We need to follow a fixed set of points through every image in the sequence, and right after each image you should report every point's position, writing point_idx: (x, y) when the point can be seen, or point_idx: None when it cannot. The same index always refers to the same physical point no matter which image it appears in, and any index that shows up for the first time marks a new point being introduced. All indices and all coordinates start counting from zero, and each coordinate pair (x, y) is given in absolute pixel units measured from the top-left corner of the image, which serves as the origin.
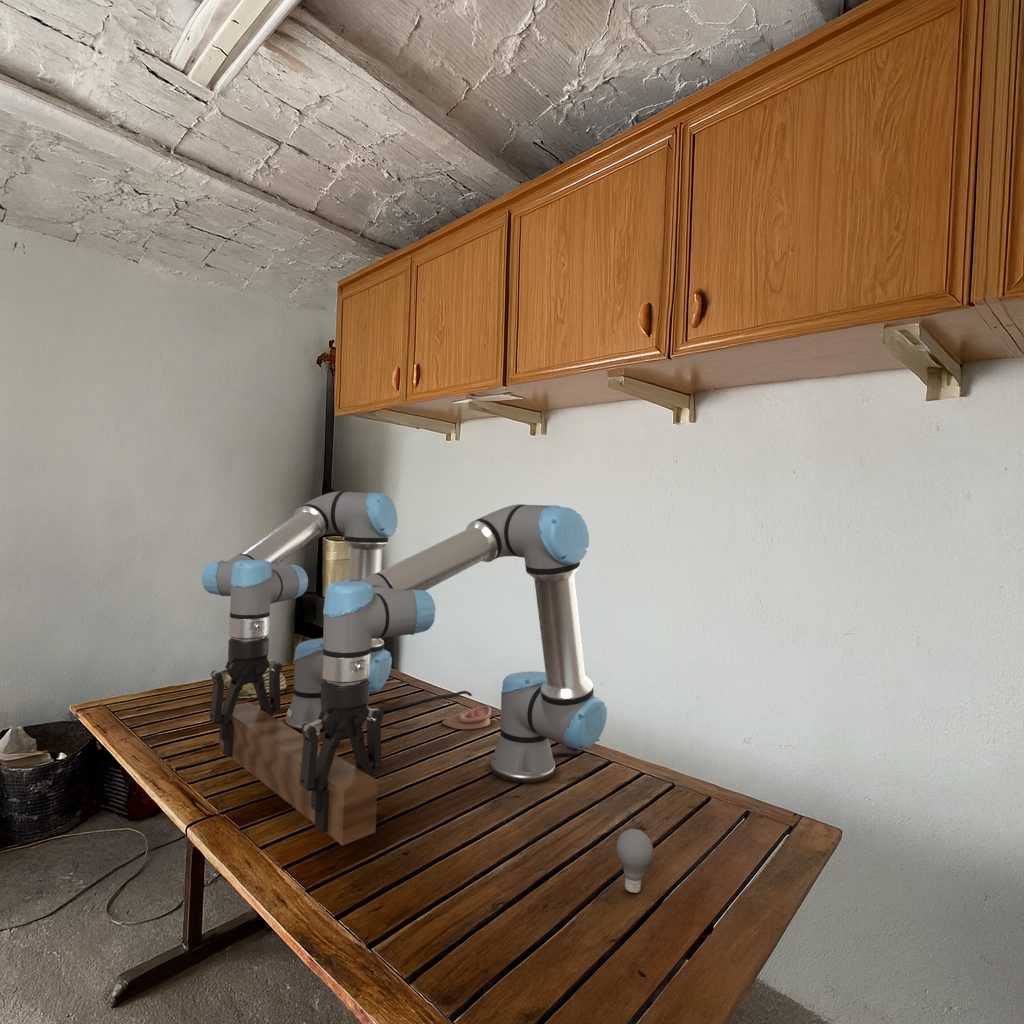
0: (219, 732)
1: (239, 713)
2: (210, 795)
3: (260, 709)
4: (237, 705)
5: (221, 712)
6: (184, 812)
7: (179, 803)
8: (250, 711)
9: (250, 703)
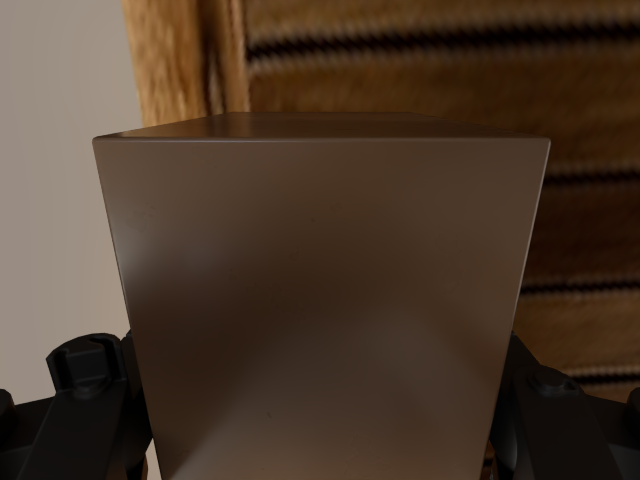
0: (128, 333)
1: (245, 467)
2: (266, 47)
3: (474, 477)
4: (337, 203)
5: (35, 452)
6: (165, 120)
7: (163, 39)
8: (363, 474)
9: (524, 226)
